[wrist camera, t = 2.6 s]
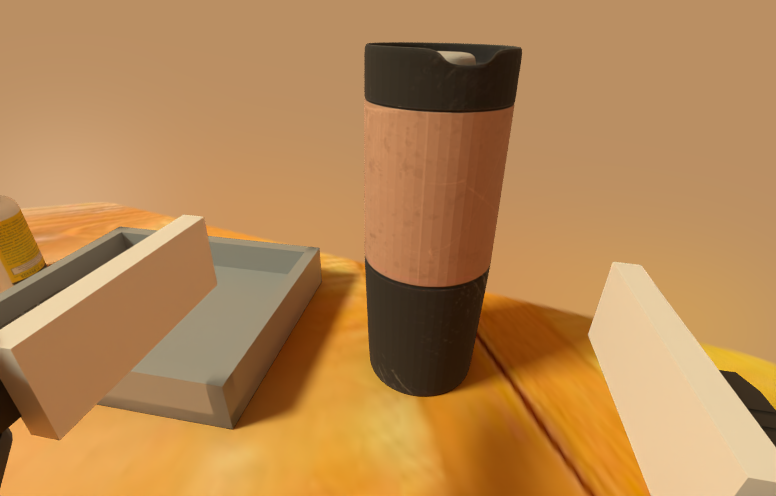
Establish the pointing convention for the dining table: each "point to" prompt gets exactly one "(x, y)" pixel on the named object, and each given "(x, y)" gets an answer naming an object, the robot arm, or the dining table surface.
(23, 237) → the supplement bottle
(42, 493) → the dining table surface
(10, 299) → the tray
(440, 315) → the travel mug
